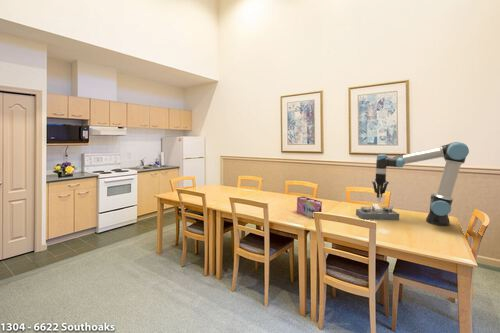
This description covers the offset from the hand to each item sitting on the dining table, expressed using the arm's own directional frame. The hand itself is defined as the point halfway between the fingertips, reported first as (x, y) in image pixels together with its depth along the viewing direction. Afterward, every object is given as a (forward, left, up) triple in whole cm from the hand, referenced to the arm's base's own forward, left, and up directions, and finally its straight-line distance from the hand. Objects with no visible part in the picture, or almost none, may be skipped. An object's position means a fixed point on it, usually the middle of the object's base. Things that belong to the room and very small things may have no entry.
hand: (379, 201), depth 216 cm
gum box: (+56, -8, -15) cm, 59 cm away
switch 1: (+9, -4, -7) cm, 12 cm away
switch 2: (0, -4, -7) cm, 8 cm away
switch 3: (-9, -4, -7) cm, 12 cm away
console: (0, -2, -14) cm, 15 cm away
